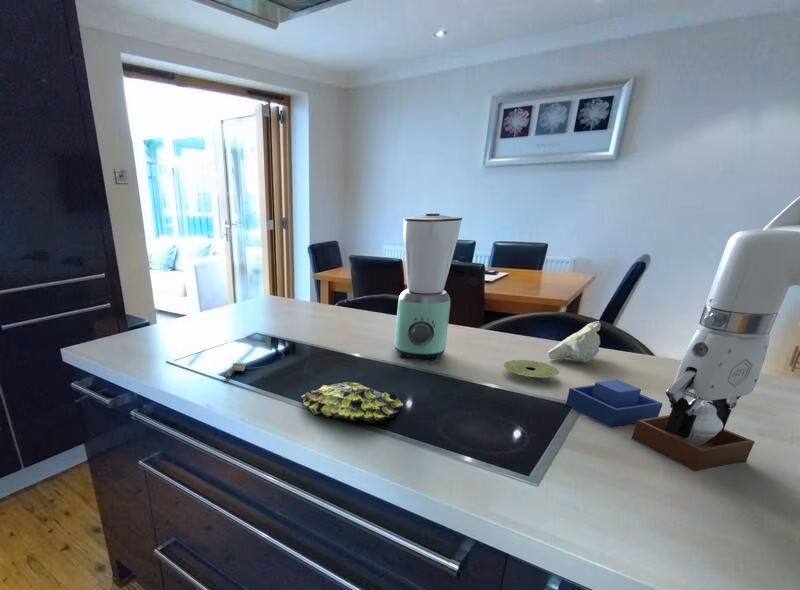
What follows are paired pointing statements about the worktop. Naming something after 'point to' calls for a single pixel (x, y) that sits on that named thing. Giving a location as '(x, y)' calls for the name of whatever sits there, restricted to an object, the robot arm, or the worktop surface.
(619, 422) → the blue bin
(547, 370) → the green disc
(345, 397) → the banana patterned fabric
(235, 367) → the meat cleaver
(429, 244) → the blender
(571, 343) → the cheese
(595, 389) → the blue block
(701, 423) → the muffin
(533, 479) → the worktop surface
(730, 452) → the brown bin
